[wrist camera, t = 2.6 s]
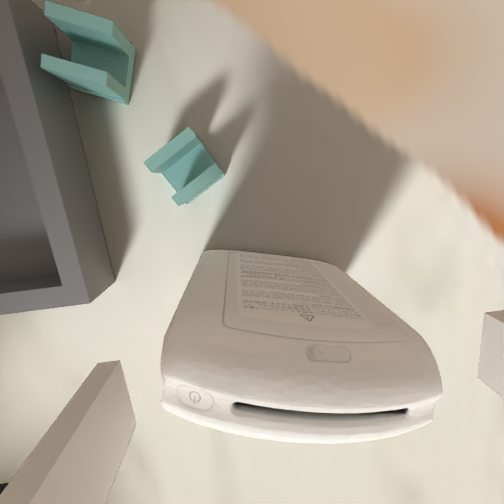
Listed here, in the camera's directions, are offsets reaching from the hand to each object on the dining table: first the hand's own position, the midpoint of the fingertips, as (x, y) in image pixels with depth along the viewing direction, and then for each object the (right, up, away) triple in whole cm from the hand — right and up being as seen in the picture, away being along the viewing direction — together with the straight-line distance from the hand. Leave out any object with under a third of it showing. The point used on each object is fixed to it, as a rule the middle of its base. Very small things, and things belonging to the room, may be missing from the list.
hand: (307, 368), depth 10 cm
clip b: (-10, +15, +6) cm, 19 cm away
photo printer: (-1, +2, +10) cm, 11 cm away
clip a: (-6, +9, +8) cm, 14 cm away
